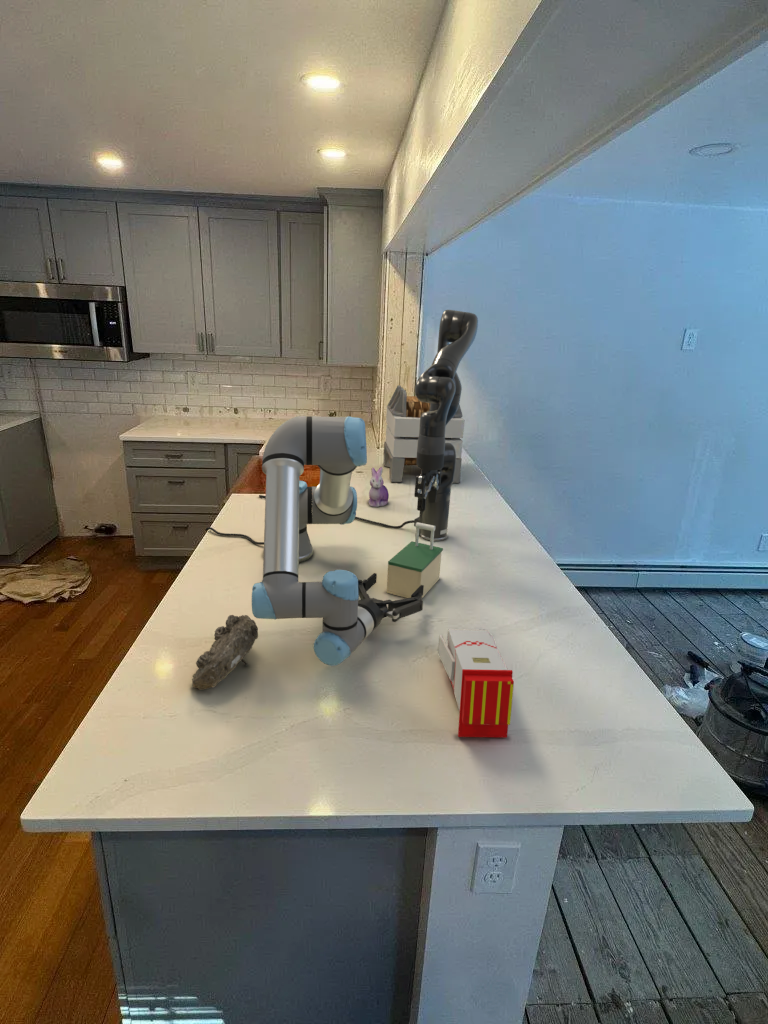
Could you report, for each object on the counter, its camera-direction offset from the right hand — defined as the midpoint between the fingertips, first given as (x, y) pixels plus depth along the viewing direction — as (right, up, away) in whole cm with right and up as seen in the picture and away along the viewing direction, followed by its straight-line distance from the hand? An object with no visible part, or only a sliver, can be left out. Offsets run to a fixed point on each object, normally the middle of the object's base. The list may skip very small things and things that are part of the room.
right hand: (426, 506), depth 161 cm
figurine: (-15, +2, +69) cm, 70 cm away
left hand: (-8, -21, -11) cm, 25 cm away
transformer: (+5, +17, +114) cm, 116 cm away
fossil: (-46, -35, -36) cm, 68 cm away
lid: (-3, -14, 0) cm, 15 cm away
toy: (+6, -39, -42) cm, 58 cm away
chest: (-4, -23, +2) cm, 23 cm away
